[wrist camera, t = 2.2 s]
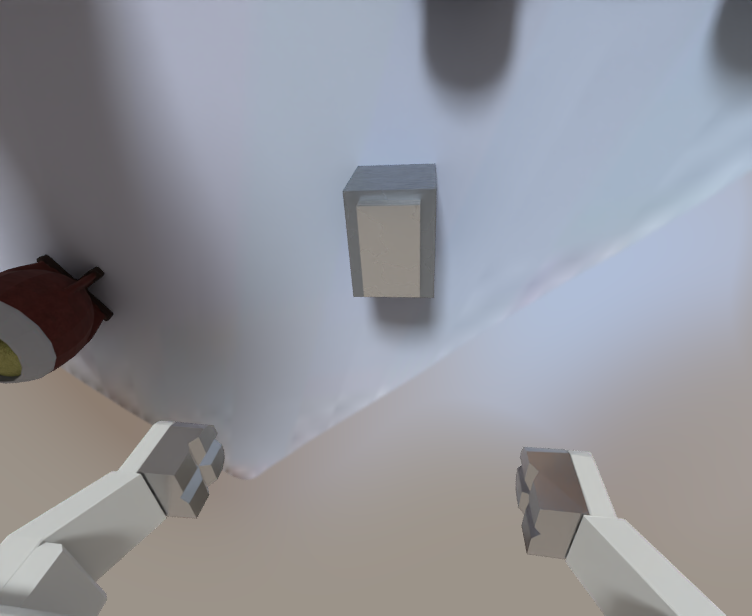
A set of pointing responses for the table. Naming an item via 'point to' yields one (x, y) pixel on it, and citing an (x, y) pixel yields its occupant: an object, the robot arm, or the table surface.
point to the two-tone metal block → (392, 230)
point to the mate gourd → (45, 318)
